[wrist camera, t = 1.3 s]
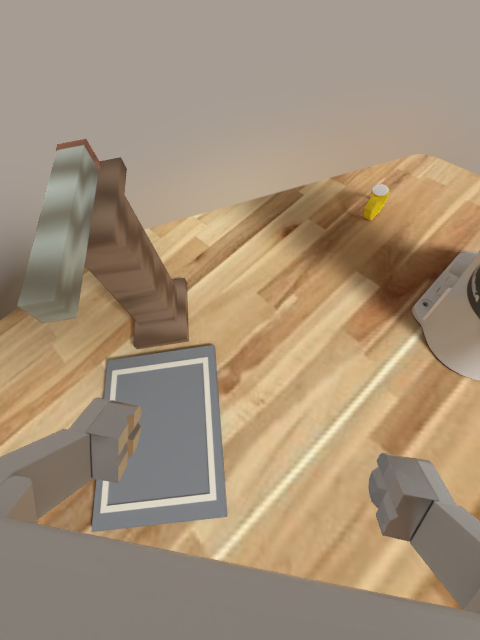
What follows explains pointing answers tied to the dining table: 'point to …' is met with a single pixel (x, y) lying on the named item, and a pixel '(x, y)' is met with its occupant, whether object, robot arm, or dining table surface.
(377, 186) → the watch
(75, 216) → the grey green bar
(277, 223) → the dining table surface
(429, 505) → the robot arm
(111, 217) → the stand
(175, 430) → the mat
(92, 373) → the dining table surface
